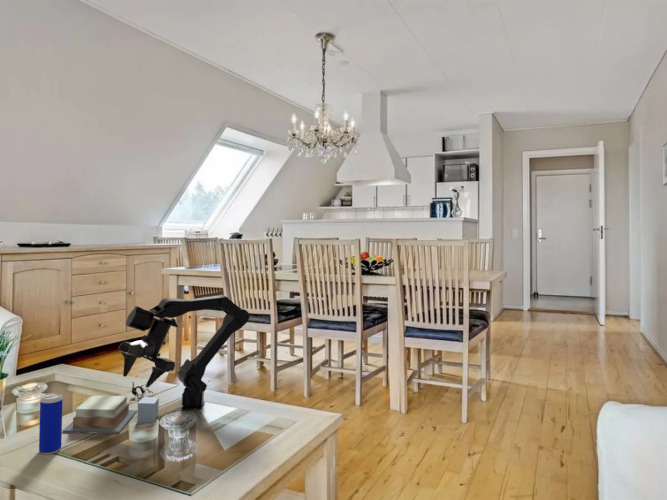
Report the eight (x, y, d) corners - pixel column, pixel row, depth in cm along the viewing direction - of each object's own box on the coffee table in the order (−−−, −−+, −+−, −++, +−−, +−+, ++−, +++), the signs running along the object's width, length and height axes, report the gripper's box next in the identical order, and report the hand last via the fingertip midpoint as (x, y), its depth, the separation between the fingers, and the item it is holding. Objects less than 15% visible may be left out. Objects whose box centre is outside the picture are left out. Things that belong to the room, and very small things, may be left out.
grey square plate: (137, 412, 155) (137, 410, 155) (118, 433, 139) (119, 431, 139) (86, 411, 153) (86, 409, 153) (62, 432, 137) (62, 430, 137)
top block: (158, 415, 153) (158, 397, 153) (153, 422, 148) (154, 403, 148) (142, 415, 152) (143, 397, 152) (137, 421, 147) (137, 403, 147)
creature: (151, 394, 174) (129, 392, 170) (155, 380, 174) (133, 377, 171) (153, 402, 166) (129, 399, 163) (157, 387, 167) (133, 384, 163)
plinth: (128, 412, 152) (129, 395, 152) (114, 428, 140) (115, 410, 140) (90, 411, 151) (90, 395, 151) (72, 427, 139) (73, 409, 139)
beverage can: (58, 444, 130) (59, 391, 129) (63, 451, 127) (65, 396, 126) (36, 449, 127) (38, 395, 126) (41, 457, 123) (43, 400, 122)
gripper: (118, 322, 148) (96, 370, 145) (165, 343, 143) (143, 393, 140) (139, 326, 159) (119, 371, 156) (184, 346, 153) (164, 393, 150)
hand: (135, 381), depth 150 cm, fingers open, 9 cm apart
